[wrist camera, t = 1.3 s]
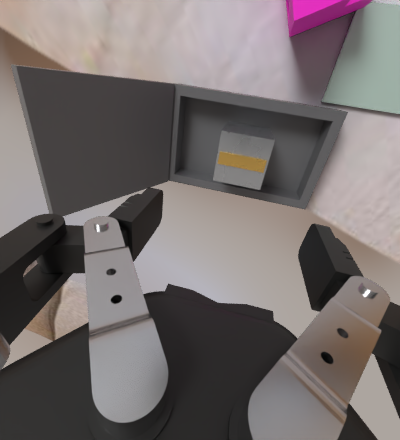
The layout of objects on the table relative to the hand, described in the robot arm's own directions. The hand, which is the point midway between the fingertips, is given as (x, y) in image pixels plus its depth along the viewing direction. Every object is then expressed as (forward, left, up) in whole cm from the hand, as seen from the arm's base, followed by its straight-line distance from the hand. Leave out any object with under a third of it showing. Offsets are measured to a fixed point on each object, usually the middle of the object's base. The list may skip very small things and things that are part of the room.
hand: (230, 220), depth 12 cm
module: (0, 0, -19) cm, 19 cm away
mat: (-11, -10, -19) cm, 24 cm away
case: (0, 0, -19) cm, 19 cm away
